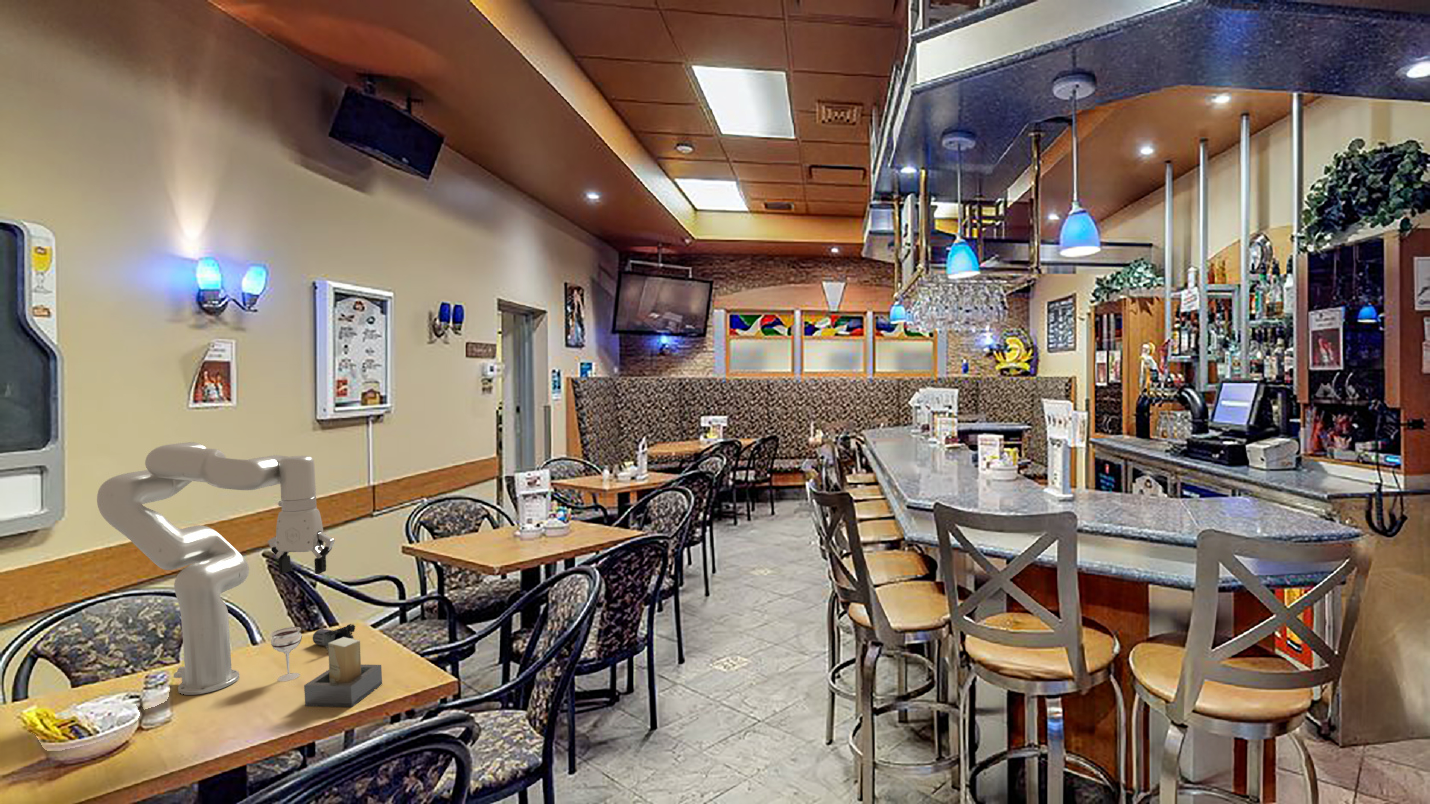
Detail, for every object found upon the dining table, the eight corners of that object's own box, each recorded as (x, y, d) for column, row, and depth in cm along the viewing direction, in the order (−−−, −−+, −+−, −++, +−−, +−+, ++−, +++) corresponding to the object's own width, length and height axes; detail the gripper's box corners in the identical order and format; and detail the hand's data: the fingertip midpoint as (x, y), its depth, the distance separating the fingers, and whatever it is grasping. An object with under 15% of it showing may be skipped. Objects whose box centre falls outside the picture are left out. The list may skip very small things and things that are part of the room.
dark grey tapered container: (354, 651, 197) (329, 646, 203) (356, 623, 199) (331, 619, 204) (323, 656, 190) (298, 651, 195) (326, 627, 191) (301, 623, 197)
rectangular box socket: (305, 706, 161) (304, 685, 160) (338, 683, 172) (337, 664, 172) (352, 707, 159) (350, 686, 159) (382, 684, 171) (381, 664, 171)
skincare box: (329, 692, 165) (326, 642, 165) (345, 684, 169) (343, 636, 169) (346, 697, 162) (344, 646, 162) (363, 689, 166) (360, 639, 166)
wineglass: (309, 671, 180) (307, 626, 180) (291, 683, 174) (288, 636, 173) (285, 671, 181) (283, 626, 181) (266, 682, 174) (264, 636, 174)
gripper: (256, 508, 169) (260, 577, 170) (320, 507, 167) (324, 577, 168) (278, 503, 176) (282, 568, 177) (341, 502, 174) (344, 568, 175)
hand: (302, 572), depth 172 cm, fingers open, 9 cm apart
